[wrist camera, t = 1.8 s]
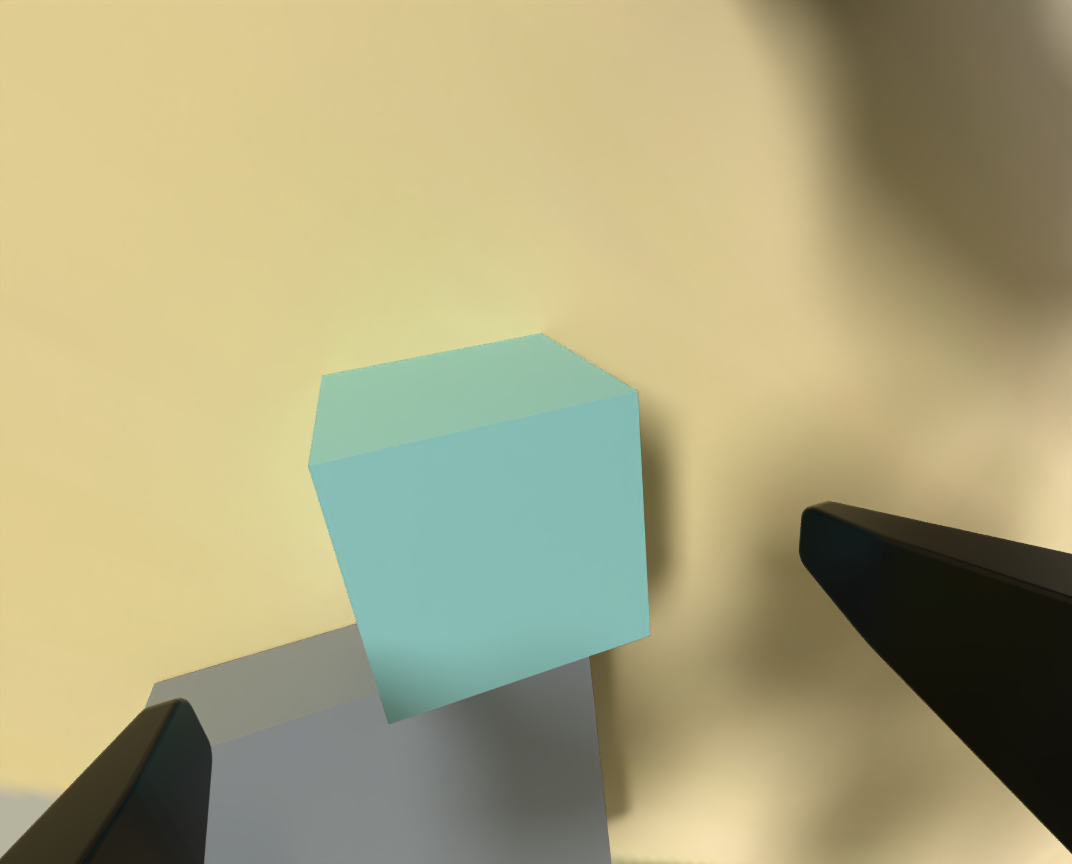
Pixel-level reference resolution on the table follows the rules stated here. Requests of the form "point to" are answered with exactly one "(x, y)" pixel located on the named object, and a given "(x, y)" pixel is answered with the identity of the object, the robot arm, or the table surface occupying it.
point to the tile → (393, 765)
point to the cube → (482, 515)
